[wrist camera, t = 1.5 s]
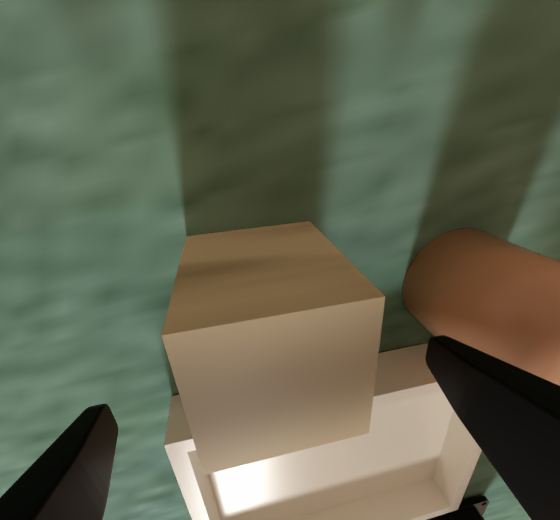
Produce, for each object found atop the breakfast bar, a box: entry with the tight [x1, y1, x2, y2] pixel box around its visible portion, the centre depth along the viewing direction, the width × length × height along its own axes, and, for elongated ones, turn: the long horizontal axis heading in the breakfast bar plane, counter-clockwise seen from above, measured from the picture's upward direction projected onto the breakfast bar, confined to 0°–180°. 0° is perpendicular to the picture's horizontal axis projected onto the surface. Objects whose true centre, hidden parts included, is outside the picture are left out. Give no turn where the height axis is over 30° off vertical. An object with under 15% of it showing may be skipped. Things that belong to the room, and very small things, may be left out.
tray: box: [164, 343, 482, 520], centre depth 18 cm, size 15×18×2 cm
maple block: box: [162, 221, 385, 475], centre depth 10 cm, size 5×5×6 cm
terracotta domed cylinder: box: [402, 228, 560, 386], centre depth 12 cm, size 5×5×6 cm
